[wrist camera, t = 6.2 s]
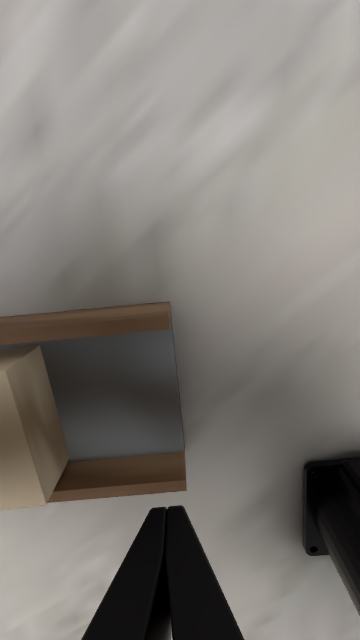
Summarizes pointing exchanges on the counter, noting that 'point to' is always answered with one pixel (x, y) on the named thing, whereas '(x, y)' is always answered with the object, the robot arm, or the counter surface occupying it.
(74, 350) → the brown wooden tray
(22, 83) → the counter surface
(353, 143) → the counter surface
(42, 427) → the tan wooden brick
